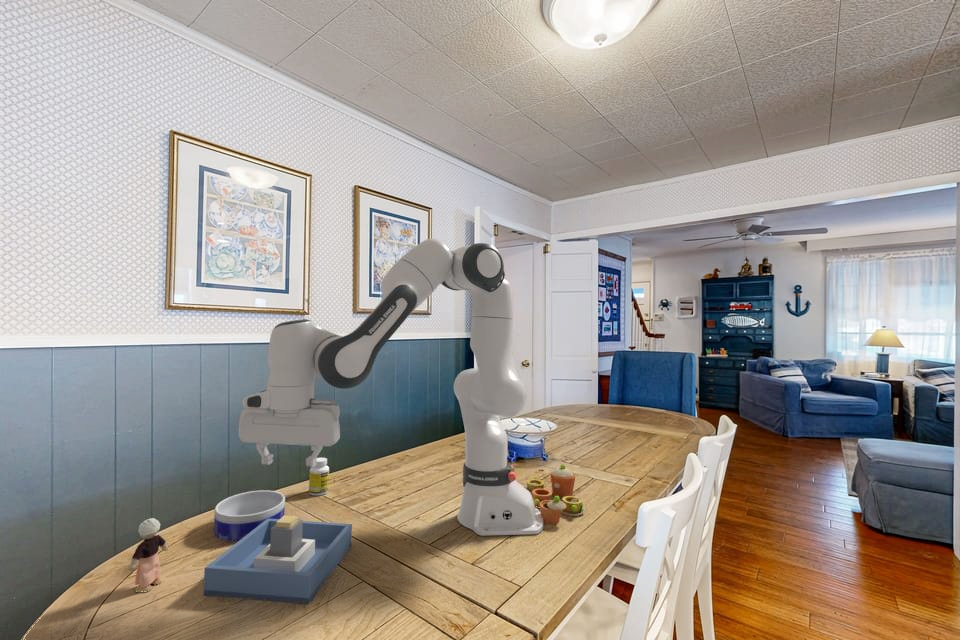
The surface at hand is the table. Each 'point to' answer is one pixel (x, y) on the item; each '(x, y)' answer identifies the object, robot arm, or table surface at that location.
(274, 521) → the walled tray
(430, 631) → the table surface
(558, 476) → the toy tea set
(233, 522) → the dog bowl
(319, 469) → the supplement bottle
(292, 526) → the connector plug
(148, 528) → the grandmother figurine
